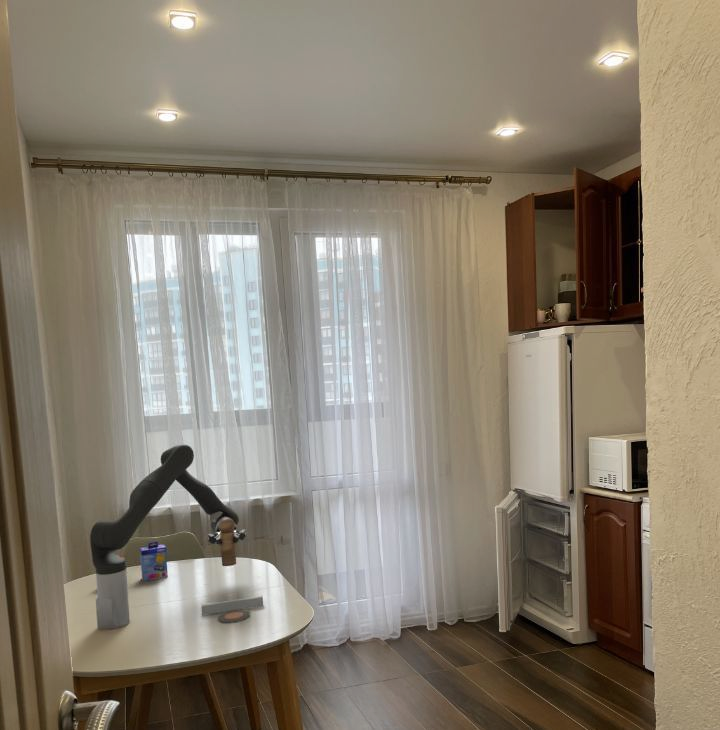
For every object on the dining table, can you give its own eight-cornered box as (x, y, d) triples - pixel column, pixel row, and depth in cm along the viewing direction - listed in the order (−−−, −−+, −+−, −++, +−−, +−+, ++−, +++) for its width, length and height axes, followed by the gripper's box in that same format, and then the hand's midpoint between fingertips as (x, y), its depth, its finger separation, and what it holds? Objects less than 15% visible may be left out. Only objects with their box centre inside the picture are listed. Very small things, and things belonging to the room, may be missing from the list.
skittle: (232, 566, 227) (229, 519, 227) (218, 566, 228) (215, 520, 228) (239, 562, 232) (236, 516, 232) (225, 561, 233) (222, 516, 234)
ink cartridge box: (142, 581, 264) (140, 544, 265) (141, 578, 269) (138, 542, 270) (168, 577, 269) (166, 540, 269) (166, 573, 274) (164, 538, 274)
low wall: (263, 604, 225) (262, 595, 225) (263, 606, 224) (262, 597, 224) (201, 613, 221) (201, 604, 221) (201, 615, 219) (201, 605, 219)
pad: (240, 623, 209) (240, 621, 209) (212, 622, 212) (212, 620, 212) (255, 612, 218) (254, 610, 218) (227, 611, 221) (227, 609, 221)
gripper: (205, 522, 243) (205, 532, 226) (245, 518, 246) (248, 527, 229) (206, 543, 242) (206, 554, 226) (246, 538, 246) (249, 549, 229)
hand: (227, 540), depth 228 cm, fingers closed on skittle, 4 cm apart
